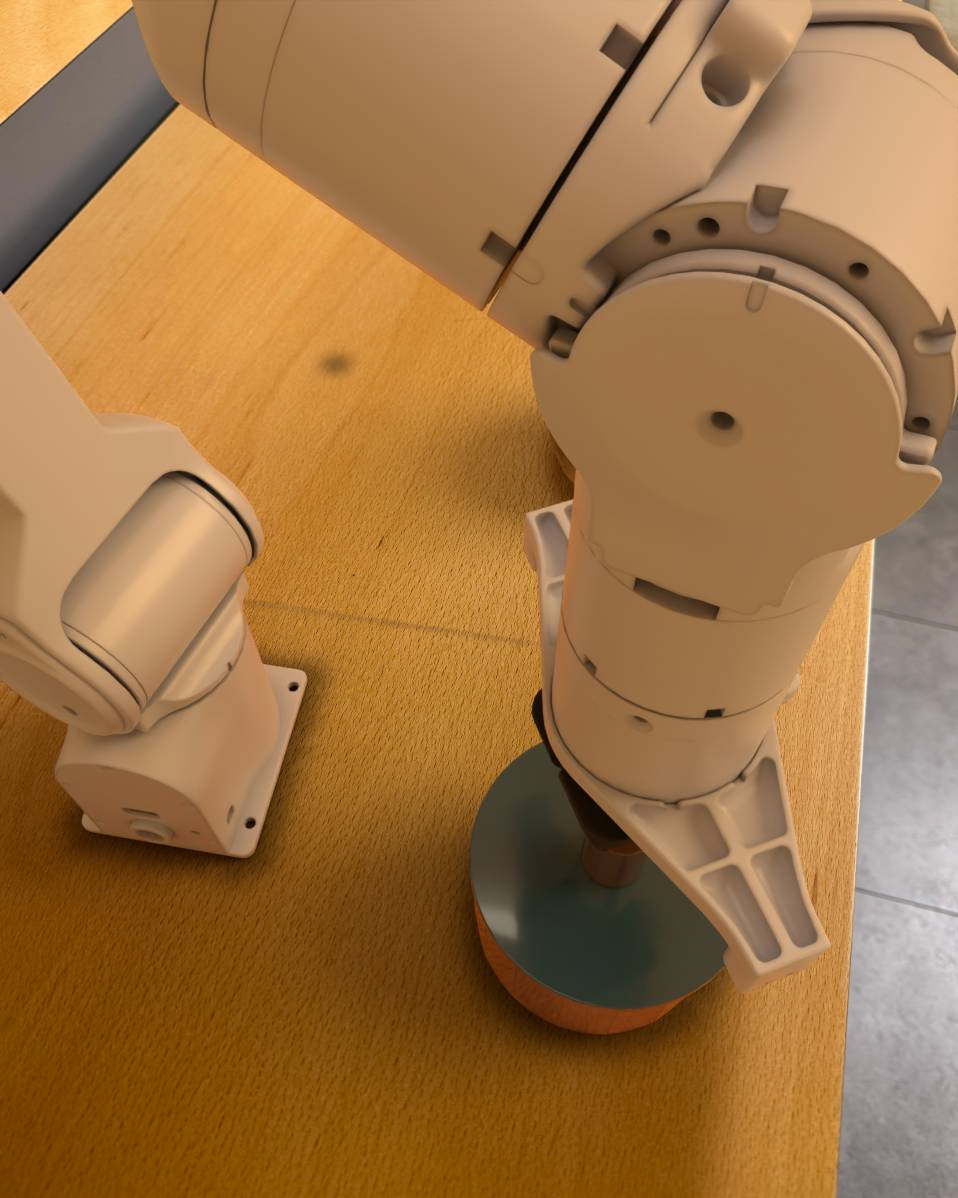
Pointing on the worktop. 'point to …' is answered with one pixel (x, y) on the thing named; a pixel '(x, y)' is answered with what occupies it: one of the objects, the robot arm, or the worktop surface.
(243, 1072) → the worktop surface
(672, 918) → the lid
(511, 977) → the pot
